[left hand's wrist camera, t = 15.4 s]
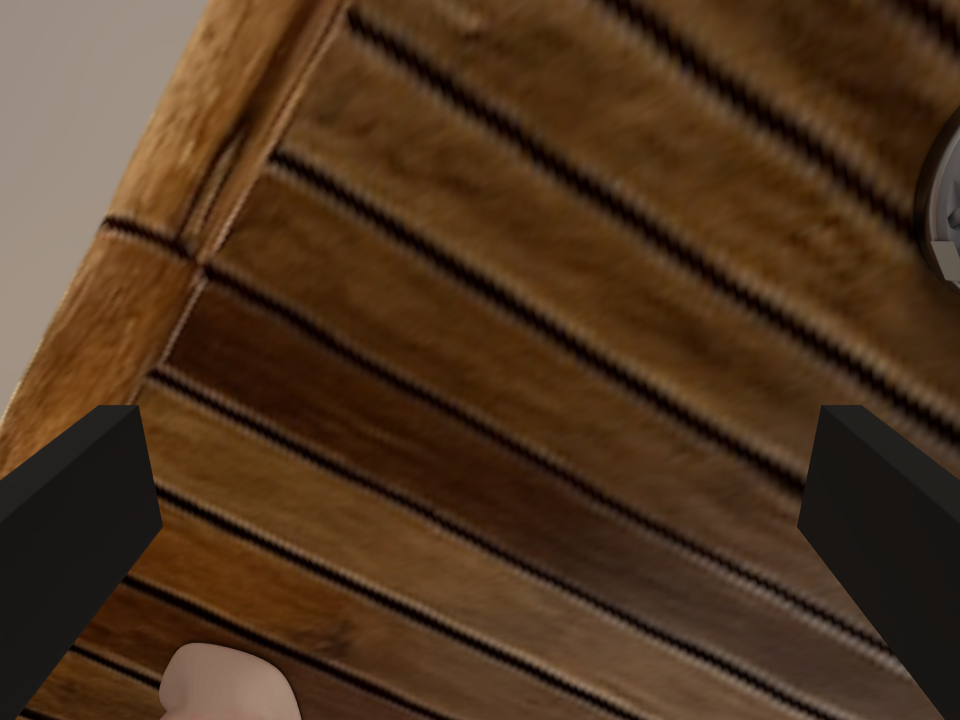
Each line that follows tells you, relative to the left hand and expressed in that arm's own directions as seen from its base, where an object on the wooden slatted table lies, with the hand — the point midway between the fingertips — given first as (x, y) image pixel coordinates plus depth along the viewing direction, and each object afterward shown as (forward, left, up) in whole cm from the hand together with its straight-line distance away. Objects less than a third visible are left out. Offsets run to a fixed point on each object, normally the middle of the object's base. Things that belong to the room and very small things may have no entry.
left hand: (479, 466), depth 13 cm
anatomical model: (-2, +44, -29) cm, 53 cm away
